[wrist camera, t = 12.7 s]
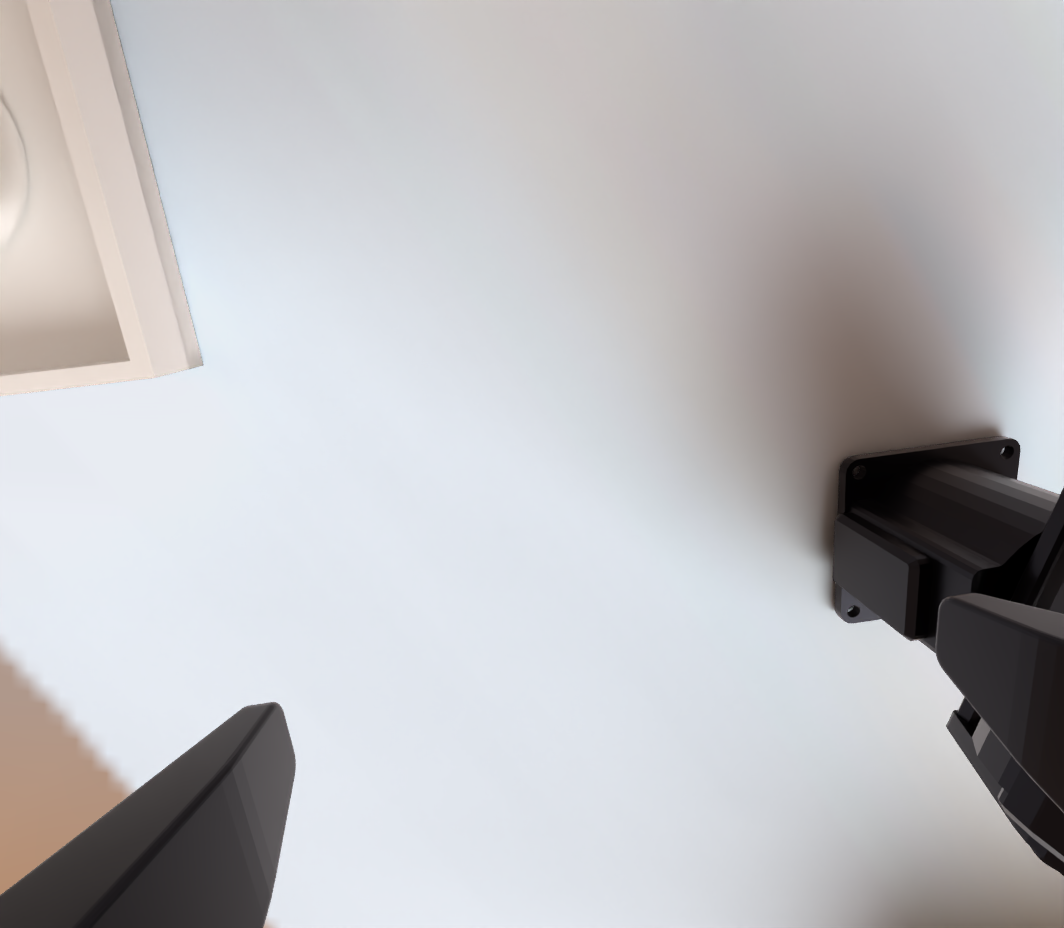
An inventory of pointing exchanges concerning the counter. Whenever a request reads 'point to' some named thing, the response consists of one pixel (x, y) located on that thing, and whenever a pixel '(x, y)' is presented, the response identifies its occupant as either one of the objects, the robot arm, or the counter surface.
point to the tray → (83, 213)
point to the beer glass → (11, 176)
